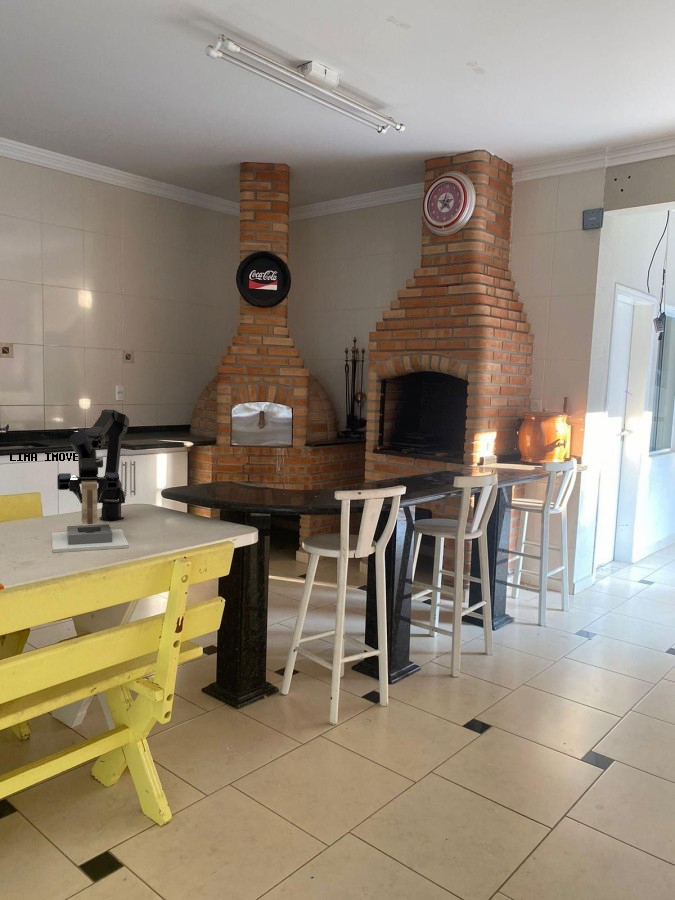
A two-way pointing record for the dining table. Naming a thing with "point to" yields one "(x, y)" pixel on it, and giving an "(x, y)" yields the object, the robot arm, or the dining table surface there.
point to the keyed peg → (89, 502)
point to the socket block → (88, 538)
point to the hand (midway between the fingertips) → (89, 502)
